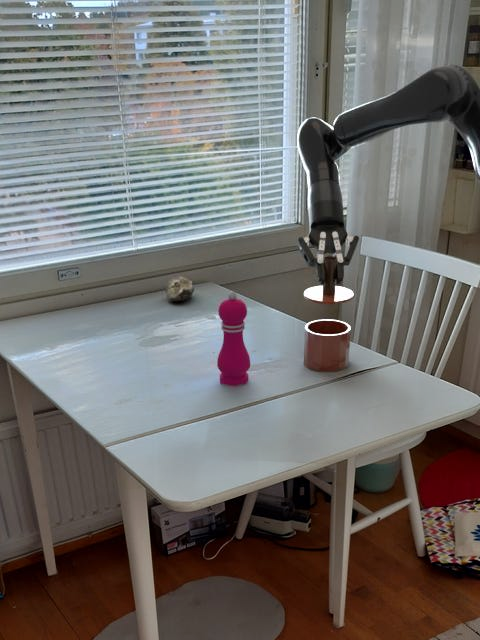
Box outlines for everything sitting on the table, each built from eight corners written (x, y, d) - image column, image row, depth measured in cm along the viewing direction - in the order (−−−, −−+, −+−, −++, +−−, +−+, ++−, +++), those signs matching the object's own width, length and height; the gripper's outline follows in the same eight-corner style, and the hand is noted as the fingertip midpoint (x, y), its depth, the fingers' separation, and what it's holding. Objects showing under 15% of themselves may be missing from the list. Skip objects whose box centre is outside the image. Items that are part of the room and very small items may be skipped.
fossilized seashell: (187, 297, 213) (203, 292, 221) (176, 273, 212) (193, 270, 220) (166, 308, 217) (183, 303, 225) (155, 286, 216) (173, 282, 224)
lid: (352, 291, 175) (355, 251, 170) (353, 307, 166) (356, 265, 161) (304, 290, 176) (305, 250, 171) (302, 306, 167) (304, 265, 162)
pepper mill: (256, 379, 173) (256, 289, 162) (238, 391, 168) (237, 299, 157) (229, 373, 176) (227, 284, 165) (211, 384, 171) (207, 293, 160)
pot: (347, 355, 184) (350, 319, 179) (348, 372, 176) (351, 336, 171) (304, 354, 185) (305, 319, 180) (303, 371, 177) (304, 335, 172)
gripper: (295, 199, 166) (300, 274, 163) (360, 197, 166) (367, 272, 163) (291, 219, 173) (296, 291, 170) (354, 217, 174) (360, 289, 171)
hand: (331, 282), depth 167 cm, fingers closed on lid, 3 cm apart
